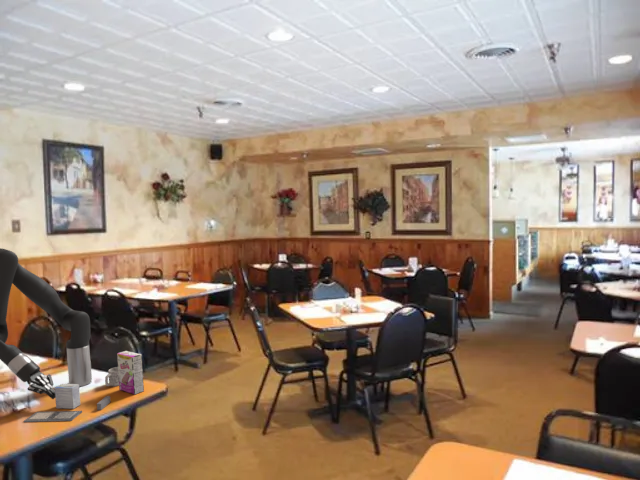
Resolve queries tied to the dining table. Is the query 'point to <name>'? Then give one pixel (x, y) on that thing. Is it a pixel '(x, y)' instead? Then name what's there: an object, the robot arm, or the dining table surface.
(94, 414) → the dining table surface
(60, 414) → the plate
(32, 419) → the plate
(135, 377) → the candy bar box
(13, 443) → the dining table surface
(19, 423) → the dining table surface
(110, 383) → the mug
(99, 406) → the rubber stop
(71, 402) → the grey upright block
